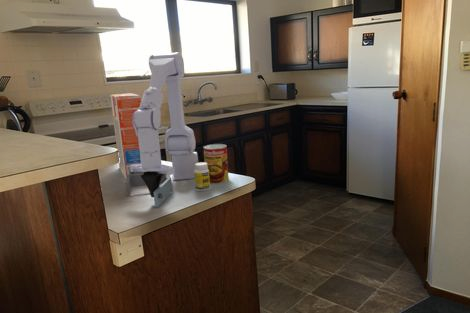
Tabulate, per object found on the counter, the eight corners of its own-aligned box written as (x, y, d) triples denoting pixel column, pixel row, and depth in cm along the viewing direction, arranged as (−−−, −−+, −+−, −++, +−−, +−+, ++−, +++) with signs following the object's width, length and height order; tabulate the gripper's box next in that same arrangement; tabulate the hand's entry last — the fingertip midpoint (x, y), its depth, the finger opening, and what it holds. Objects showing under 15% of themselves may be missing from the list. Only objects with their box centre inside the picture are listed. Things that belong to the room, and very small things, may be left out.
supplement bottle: (204, 192, 118) (202, 166, 116) (192, 190, 121) (190, 164, 119) (213, 187, 122) (211, 162, 120) (201, 186, 124) (199, 161, 123)
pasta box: (149, 177, 138) (140, 95, 132) (126, 181, 135) (116, 97, 129) (139, 164, 159) (130, 93, 152) (119, 167, 156) (109, 94, 149)
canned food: (202, 183, 127) (200, 148, 125) (210, 176, 135) (207, 144, 132) (224, 183, 125) (222, 148, 123) (231, 177, 133) (229, 144, 130)
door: (169, 190, 120) (168, 177, 119) (175, 190, 120) (173, 177, 119) (154, 207, 106) (153, 192, 105) (160, 207, 106) (158, 192, 105)
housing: (170, 182, 130) (169, 170, 129) (171, 191, 121) (170, 177, 120) (128, 187, 127) (127, 174, 126) (126, 196, 118) (124, 182, 117)
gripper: (120, 152, 107) (126, 198, 110) (162, 155, 101) (166, 203, 104) (137, 148, 113) (141, 191, 116) (177, 150, 107) (181, 195, 110)
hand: (154, 196), depth 110 cm, fingers closed
